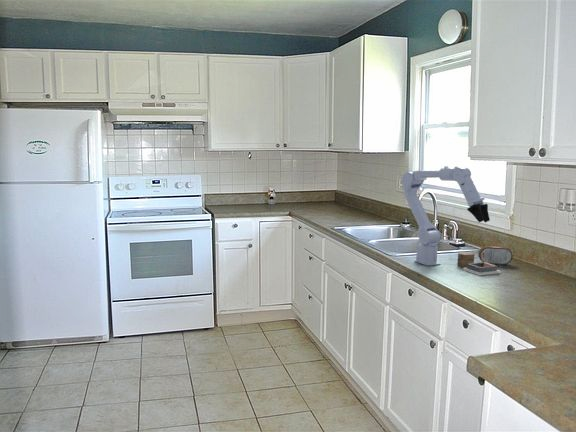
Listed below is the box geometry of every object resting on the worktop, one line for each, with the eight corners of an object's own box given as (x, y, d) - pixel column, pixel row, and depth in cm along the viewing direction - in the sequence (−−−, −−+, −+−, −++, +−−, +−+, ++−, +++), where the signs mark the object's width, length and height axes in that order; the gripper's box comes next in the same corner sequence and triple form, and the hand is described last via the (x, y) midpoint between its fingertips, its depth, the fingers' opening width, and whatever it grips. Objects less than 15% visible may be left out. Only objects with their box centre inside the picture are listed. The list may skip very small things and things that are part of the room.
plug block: (457, 265, 247) (458, 253, 246) (467, 264, 250) (468, 252, 249) (463, 268, 244) (464, 255, 243) (473, 266, 246) (474, 254, 245)
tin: (511, 264, 253) (512, 246, 252) (512, 265, 250) (514, 248, 249) (477, 262, 256) (478, 244, 254) (478, 263, 253) (480, 246, 251)
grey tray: (462, 269, 240) (463, 263, 239) (483, 267, 245) (483, 261, 244) (479, 275, 231) (479, 268, 230) (500, 273, 236) (500, 266, 235)
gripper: (473, 187, 223) (487, 217, 220) (484, 189, 235) (498, 217, 231) (458, 195, 227) (472, 224, 223) (470, 196, 239) (483, 224, 235)
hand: (484, 221), depth 227 cm, fingers open, 7 cm apart
